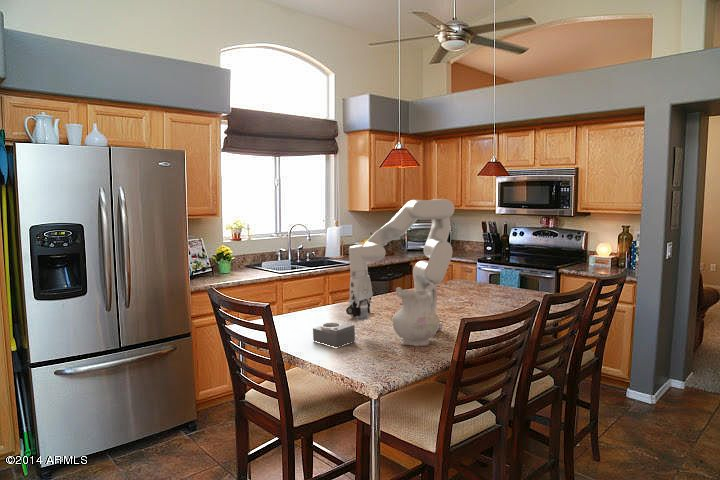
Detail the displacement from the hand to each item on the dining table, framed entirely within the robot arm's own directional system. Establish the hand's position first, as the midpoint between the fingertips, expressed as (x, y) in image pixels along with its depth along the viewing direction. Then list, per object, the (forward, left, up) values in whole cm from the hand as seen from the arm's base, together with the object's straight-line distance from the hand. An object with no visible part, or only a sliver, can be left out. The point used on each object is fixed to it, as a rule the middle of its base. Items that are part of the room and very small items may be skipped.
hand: (362, 313), depth 217 cm
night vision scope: (+26, -26, -10) cm, 38 cm away
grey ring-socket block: (+4, +14, -10) cm, 18 cm away
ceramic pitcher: (-23, -9, -10) cm, 27 cm away
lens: (0, 0, -2) cm, 2 cm away
